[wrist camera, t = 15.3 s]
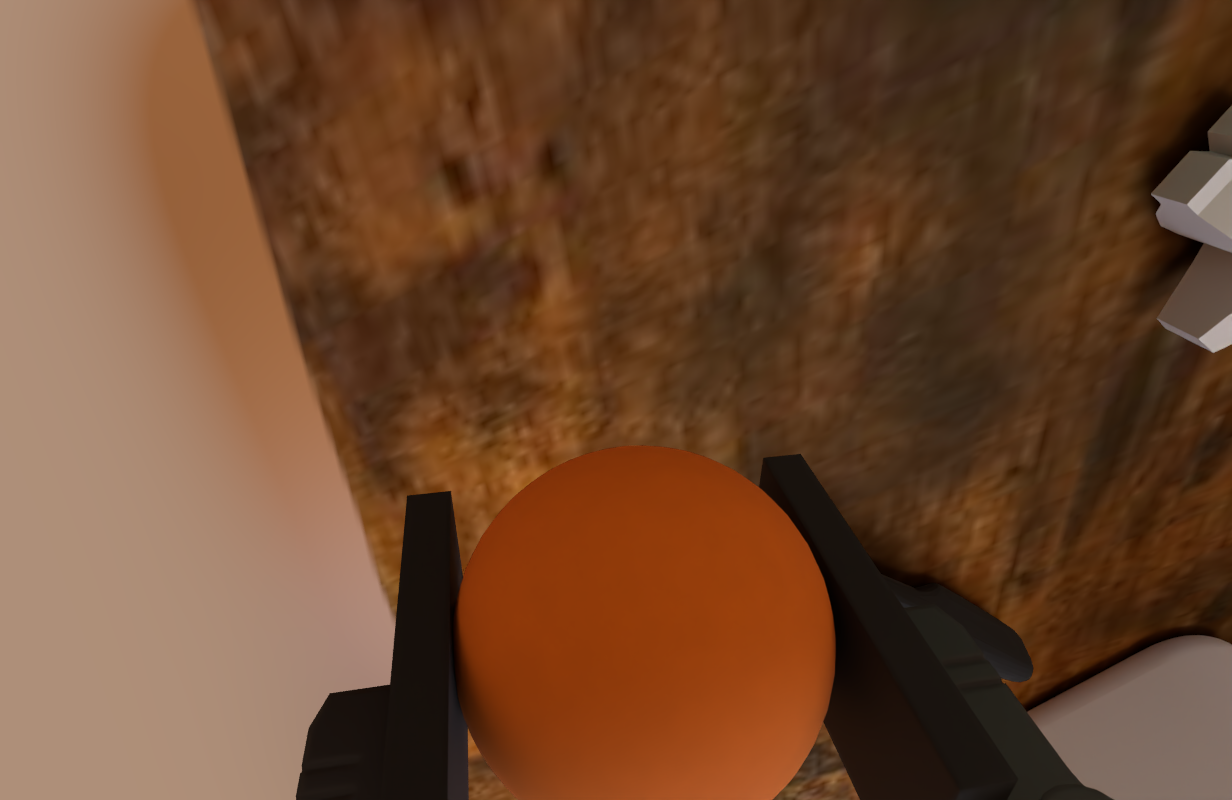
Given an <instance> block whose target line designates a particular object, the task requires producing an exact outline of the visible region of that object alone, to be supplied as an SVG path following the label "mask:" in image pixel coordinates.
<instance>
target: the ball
mask: <svg viewBox="0 0 1232 800" xmlns="http://www.w3.org/2000/svg"><path fill="white" fill-rule="evenodd" d="M453 649H454V667H455V677H456V686H457V694H458V699H459V702H460V706H461V710H462V713H463V717H464V719H465V721H466V724H467V726H468V729H469V731H470V733H471V736H472V738H473V740H474V742H475V744H476V745H477V747H478V749H479V751H480V753H481V754H482V756H483V757H484V759H485V761H486V762H487V764H488V765H489V767H490V768H491V770H492V771H493V772H494V774H495V775H496V776H497V777H498V778H499V780H500V781H501V782H502V783H503V784H504V785H505V786H506V788H507V789H508V790H509V791H510V792H511V793H512V794H513V795H514V796H515V798H517V799H518V800H773V799H774V798H775V796H776V795H777V794H778V793H779V792H780V791H781V790H782V789H783V788H784V787H785V786H786V785H787V784H788V783H789V782H790V781H791V779H792V778H793V777H794V775H795V774H796V773H797V772H798V770H799V768H800V767H801V765H802V764H803V762H804V760H805V759H806V757H807V756H808V754H809V752H810V750H811V749H812V747H813V745H814V743H815V741H816V739H817V736H818V734H819V731H820V729H821V726H822V723H823V721H824V718H825V716H826V713H827V710H828V706H829V701H830V696H831V692H832V687H833V681H834V676H835V659H836V636H835V627H834V619H833V612H832V608H831V603H830V599H829V595H828V592H827V588H826V585H825V581H824V578H823V576H822V574H821V571H820V569H819V567H818V565H817V563H816V560H815V558H814V556H813V554H812V552H811V550H810V548H809V545H808V544H807V542H806V541H805V539H804V538H803V536H802V535H801V533H800V532H799V531H798V529H797V528H796V526H795V525H794V523H793V522H792V521H791V519H790V518H789V517H788V515H787V514H786V513H785V512H784V511H783V510H782V509H781V508H780V507H779V506H778V505H777V504H776V503H775V502H774V501H773V500H772V499H771V498H770V497H769V496H768V495H767V494H766V493H765V492H764V491H763V490H762V489H760V488H759V487H758V486H756V485H755V484H753V483H752V482H751V481H749V480H748V479H746V478H745V477H743V476H742V475H740V474H739V473H737V472H736V471H735V470H733V469H731V468H729V467H727V466H724V465H722V464H720V463H718V462H716V461H714V460H711V459H709V458H707V457H704V456H701V455H698V454H695V453H692V452H688V451H684V450H678V449H673V448H667V447H658V446H643V445H640V446H622V447H615V448H608V449H603V450H599V451H595V452H591V453H588V454H585V455H582V456H579V457H577V458H574V459H571V460H569V461H567V462H565V463H563V464H561V465H559V466H557V467H555V468H553V469H551V470H549V471H548V472H546V473H545V474H543V475H542V476H540V477H538V478H537V479H536V480H534V481H533V482H531V483H530V484H529V485H528V486H526V487H525V488H524V489H523V490H521V491H520V492H519V493H518V494H517V495H515V496H514V497H513V498H512V499H511V500H510V501H509V503H508V504H507V505H506V506H505V507H504V508H503V509H502V510H501V511H500V512H499V514H498V515H497V516H496V518H495V519H494V520H493V522H492V523H491V524H490V526H489V527H488V528H487V530H486V531H485V533H484V534H483V535H482V537H481V539H480V541H479V543H478V545H477V547H476V549H475V551H474V552H473V555H472V557H471V559H470V561H469V563H468V565H467V567H466V570H465V573H464V576H463V579H462V582H461V585H460V589H459V592H458V596H457V600H456V604H455V611H454V621H453Z"/></svg>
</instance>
